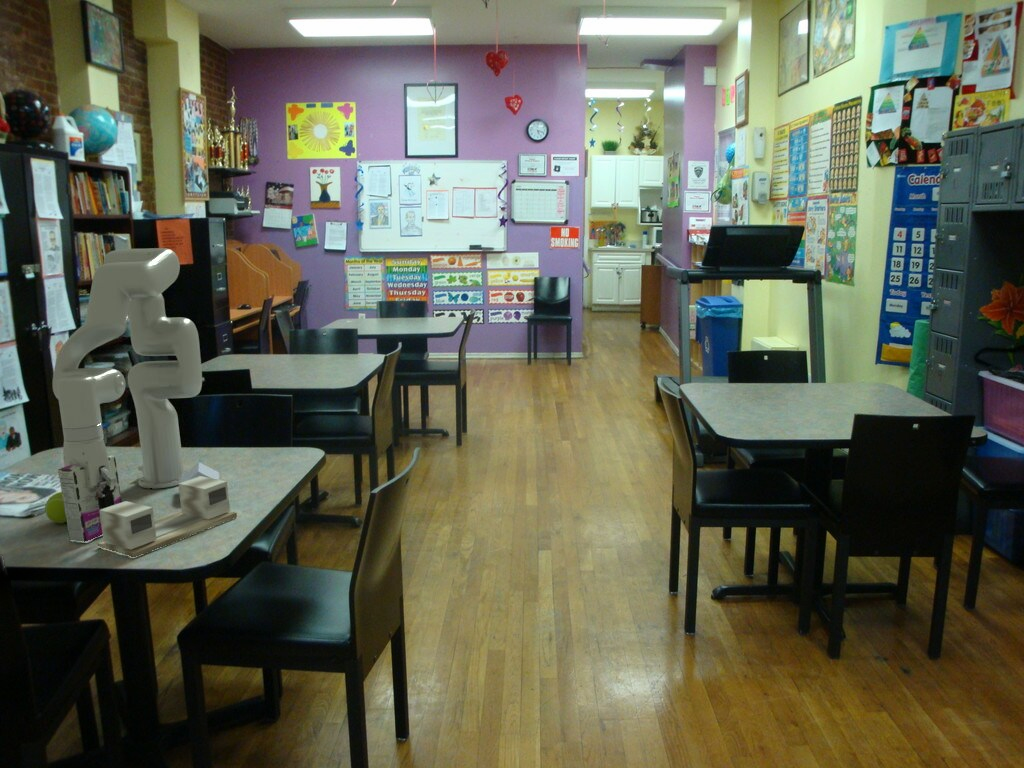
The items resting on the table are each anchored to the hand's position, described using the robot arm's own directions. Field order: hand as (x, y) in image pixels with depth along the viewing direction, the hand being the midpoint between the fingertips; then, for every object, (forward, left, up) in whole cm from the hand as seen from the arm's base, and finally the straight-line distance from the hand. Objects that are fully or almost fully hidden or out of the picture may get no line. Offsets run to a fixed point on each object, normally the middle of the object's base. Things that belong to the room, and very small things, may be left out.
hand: (94, 509), depth 182 cm
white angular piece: (-1, +28, -6) cm, 29 cm away
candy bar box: (0, 0, -6) cm, 6 cm away
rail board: (+14, +8, -6) cm, 17 cm away
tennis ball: (-14, +1, -6) cm, 15 cm away
